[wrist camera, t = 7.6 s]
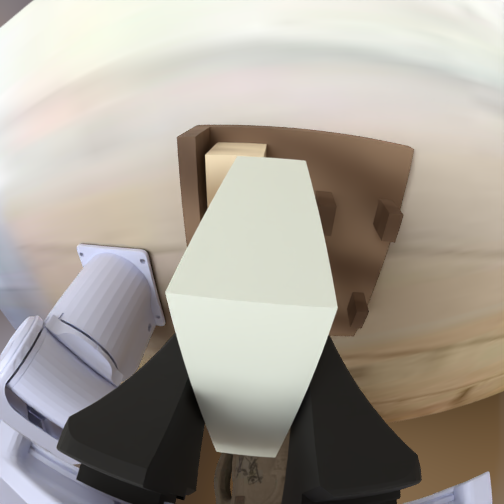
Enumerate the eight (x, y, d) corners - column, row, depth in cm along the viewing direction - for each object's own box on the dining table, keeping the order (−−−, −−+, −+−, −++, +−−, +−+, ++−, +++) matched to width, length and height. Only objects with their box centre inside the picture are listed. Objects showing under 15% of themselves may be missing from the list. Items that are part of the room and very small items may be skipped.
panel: (282, 333, 16) (275, 457, 10) (238, 329, 16) (216, 451, 10) (305, 160, 10) (337, 308, 4) (237, 156, 10) (165, 292, 4)
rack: (352, 330, 26) (358, 361, 23) (211, 319, 27) (203, 350, 24) (409, 146, 15) (434, 163, 12) (197, 125, 16) (176, 137, 13)
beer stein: (282, 348, 28) (266, 537, 12) (343, 378, 31) (348, 528, 15) (208, 389, 36) (181, 517, 20) (266, 412, 39) (253, 526, 23)
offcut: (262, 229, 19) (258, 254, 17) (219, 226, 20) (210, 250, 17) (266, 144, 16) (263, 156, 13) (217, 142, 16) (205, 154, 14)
